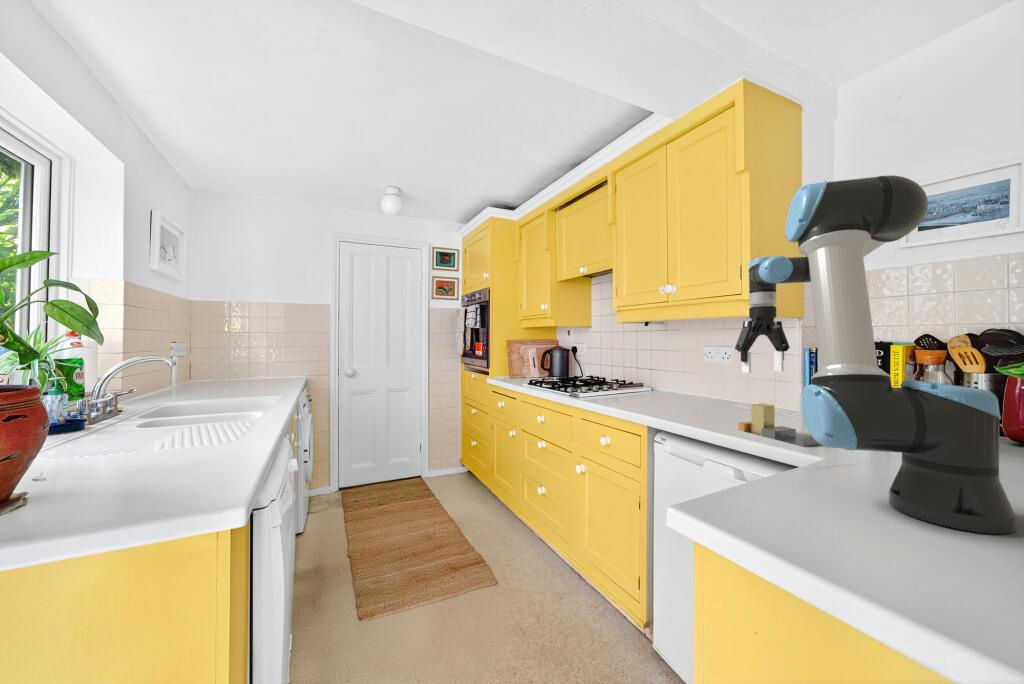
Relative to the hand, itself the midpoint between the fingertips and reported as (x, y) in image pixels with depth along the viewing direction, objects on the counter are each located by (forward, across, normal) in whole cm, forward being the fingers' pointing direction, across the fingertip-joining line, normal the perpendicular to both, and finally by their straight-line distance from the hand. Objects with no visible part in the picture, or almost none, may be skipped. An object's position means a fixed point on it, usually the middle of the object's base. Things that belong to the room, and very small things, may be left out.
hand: (762, 371), depth 130 cm
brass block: (+20, 0, 0) cm, 20 cm away
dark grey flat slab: (+20, 0, -5) cm, 21 cm away
